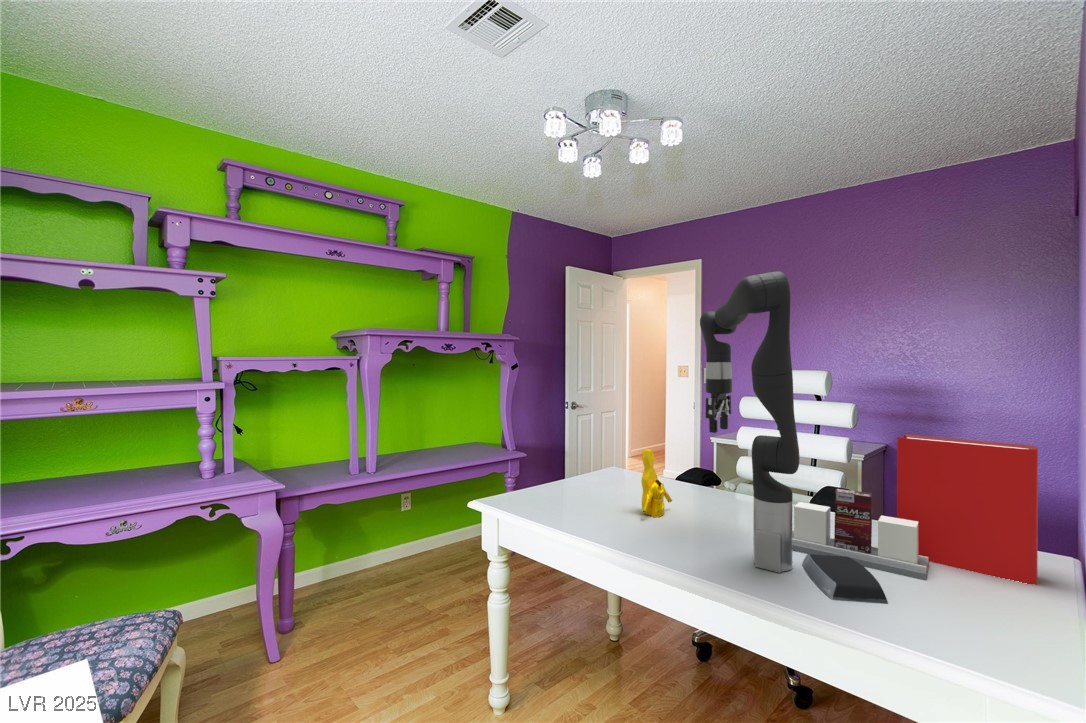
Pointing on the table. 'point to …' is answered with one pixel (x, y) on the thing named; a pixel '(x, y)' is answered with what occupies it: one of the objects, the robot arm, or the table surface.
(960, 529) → the book
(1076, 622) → the table surface
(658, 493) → the figure statuette
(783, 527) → the robot arm
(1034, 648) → the table surface
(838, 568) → the external hard drive
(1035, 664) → the table surface
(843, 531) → the supplement box
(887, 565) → the board
